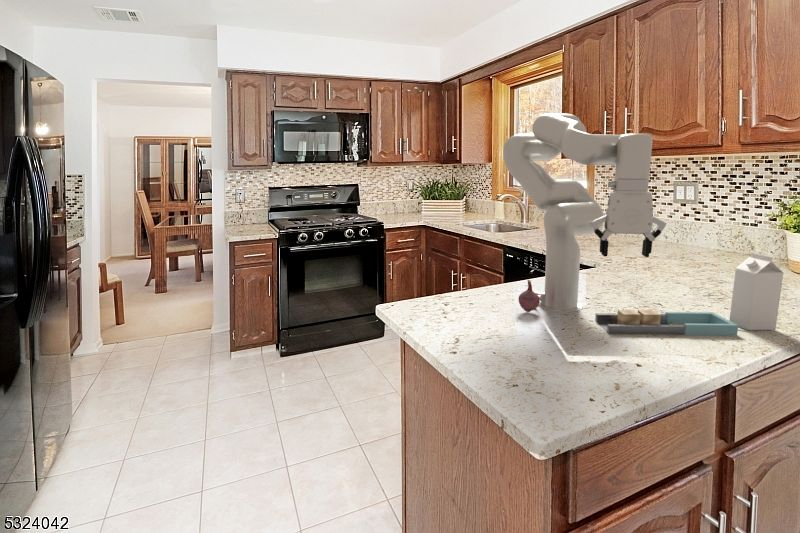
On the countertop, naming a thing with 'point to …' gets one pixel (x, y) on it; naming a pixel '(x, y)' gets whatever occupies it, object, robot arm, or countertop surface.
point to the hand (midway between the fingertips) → (624, 255)
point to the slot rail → (637, 326)
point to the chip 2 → (649, 317)
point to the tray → (715, 328)
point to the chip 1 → (628, 317)
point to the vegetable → (529, 299)
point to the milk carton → (756, 293)
